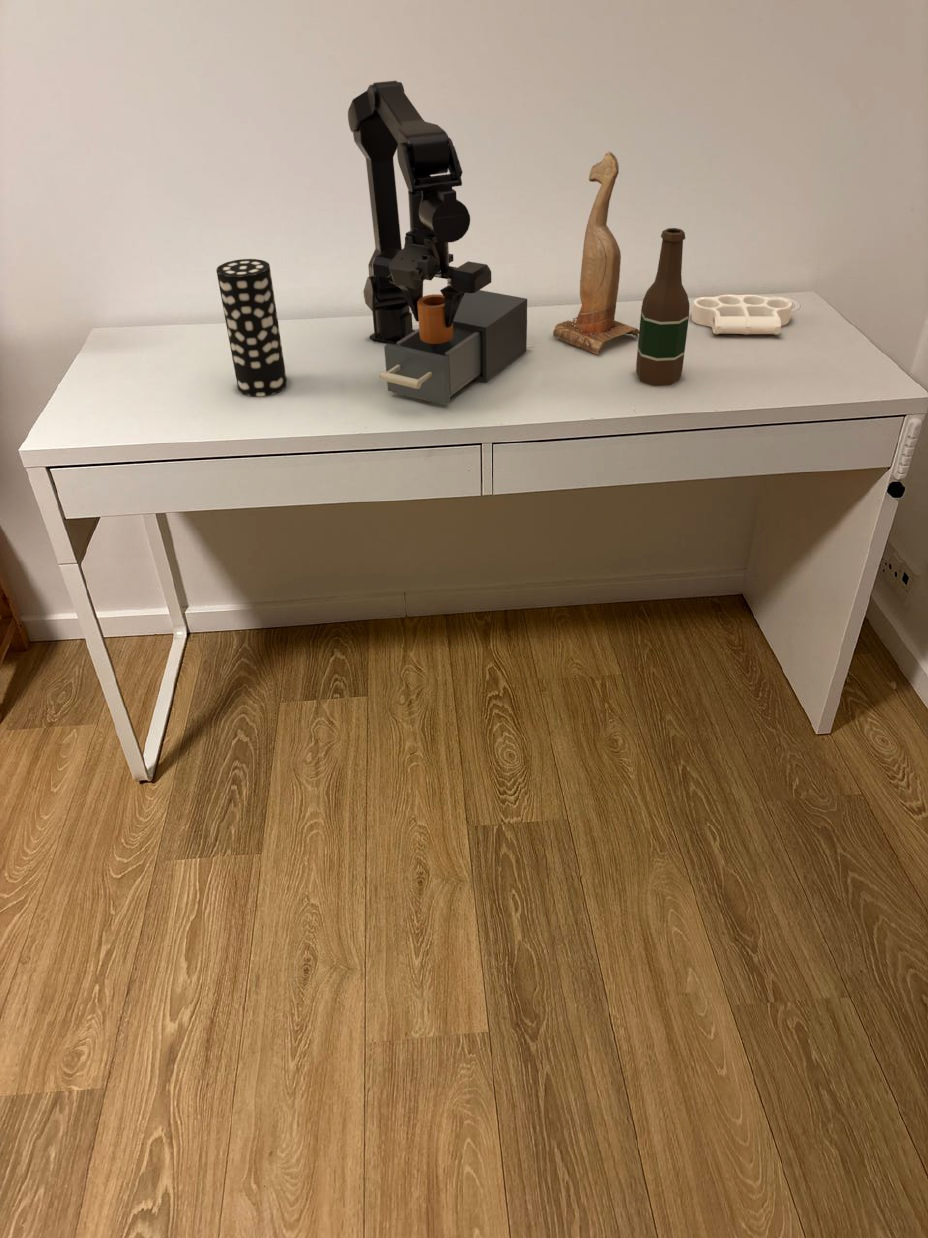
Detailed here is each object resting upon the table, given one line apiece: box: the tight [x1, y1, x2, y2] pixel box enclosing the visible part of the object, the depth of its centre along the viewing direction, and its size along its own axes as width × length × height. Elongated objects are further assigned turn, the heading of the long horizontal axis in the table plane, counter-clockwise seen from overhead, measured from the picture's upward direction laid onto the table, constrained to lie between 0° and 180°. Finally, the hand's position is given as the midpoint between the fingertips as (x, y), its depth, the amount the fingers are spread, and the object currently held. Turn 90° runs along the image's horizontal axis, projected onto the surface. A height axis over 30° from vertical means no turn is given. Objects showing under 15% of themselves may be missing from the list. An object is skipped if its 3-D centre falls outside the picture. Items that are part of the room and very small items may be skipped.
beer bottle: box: [635, 227, 691, 387], centre depth 156 cm, size 8×8×24 cm
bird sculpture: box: [552, 150, 639, 355], centre depth 167 cm, size 11×12×32 cm
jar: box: [417, 293, 453, 344], centre depth 156 cm, size 5×5×6 cm
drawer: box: [379, 326, 483, 406], centre depth 158 cm, size 18×11×8 cm, turn 150°
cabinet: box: [453, 289, 528, 383], centre depth 168 cm, size 15×13×10 cm
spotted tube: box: [215, 258, 288, 397], centre depth 159 cm, size 8×8×20 cm
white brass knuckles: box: [691, 293, 793, 336], centre depth 180 cm, size 3×18×15 cm
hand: (433, 323), depth 155 cm, fingers closed on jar, 5 cm apart
